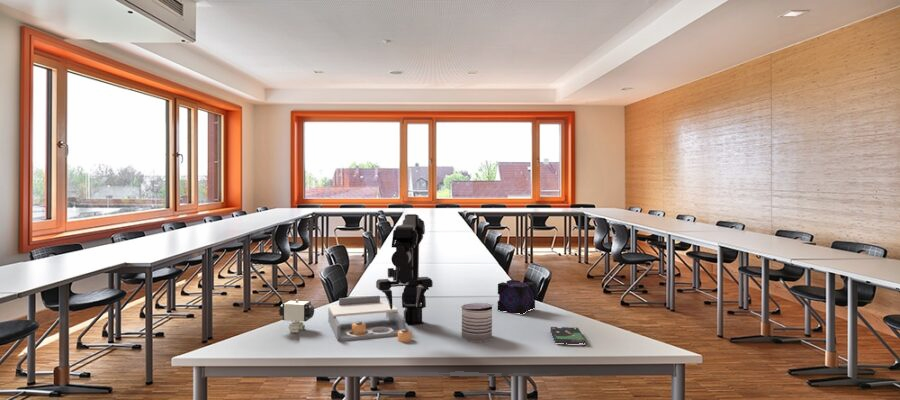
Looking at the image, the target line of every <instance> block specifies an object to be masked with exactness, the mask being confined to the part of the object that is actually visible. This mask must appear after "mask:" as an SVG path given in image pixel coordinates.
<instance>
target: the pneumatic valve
mask: <svg viewBox="0 0 900 400" xmlns="http://www.w3.org/2000/svg"><path fill="white" fill-rule="evenodd" d="M278 314H279V316H280V317H281V318H282V321H284V322H285V321H288V322H290V321H291V323H289V325H288V329H289V333H291V334H298V333H299V331H304V330H305V328H306V326H305V324H304V322H307V321H309V320H310V319H312V318H313V317H314V315H315V306H314V305H312V301H307V300H305V301H303V300H299V299H298V298H297V299H295V300H287V301H285V302H282V304H281V305H280V306H279V309H278Z"/></svg>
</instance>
